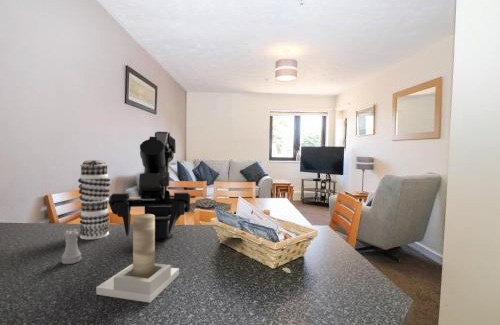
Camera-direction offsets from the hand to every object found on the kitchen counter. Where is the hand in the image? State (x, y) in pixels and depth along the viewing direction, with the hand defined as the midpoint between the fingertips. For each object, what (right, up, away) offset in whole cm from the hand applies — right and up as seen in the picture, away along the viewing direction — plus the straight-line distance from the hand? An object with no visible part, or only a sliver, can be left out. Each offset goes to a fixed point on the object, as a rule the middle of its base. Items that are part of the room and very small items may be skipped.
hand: (148, 234), depth 63 cm
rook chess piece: (-22, -9, +7) cm, 25 cm away
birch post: (+1, -9, -6) cm, 11 cm away
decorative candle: (-28, -8, +28) cm, 41 cm away
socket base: (0, -10, -4) cm, 11 cm away
